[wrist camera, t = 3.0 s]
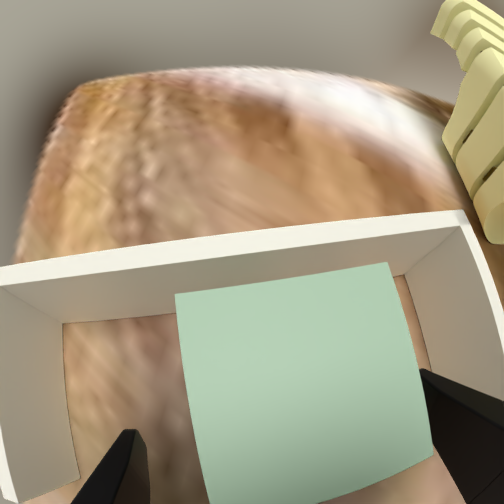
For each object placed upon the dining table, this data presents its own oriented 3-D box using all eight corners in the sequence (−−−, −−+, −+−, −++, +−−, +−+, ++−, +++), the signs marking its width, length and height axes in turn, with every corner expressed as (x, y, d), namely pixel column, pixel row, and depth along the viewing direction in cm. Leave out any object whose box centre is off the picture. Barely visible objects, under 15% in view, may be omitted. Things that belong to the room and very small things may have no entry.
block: (301, 420, 15) (433, 454, 4) (224, 435, 15) (215, 522, 4) (286, 349, 17) (387, 261, 6) (211, 361, 17) (174, 294, 6)
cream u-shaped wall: (449, 405, 16) (521, 395, 10) (67, 476, 12) (4, 498, 6) (409, 260, 21) (463, 209, 14) (51, 310, 17) (-11, 268, 11)
